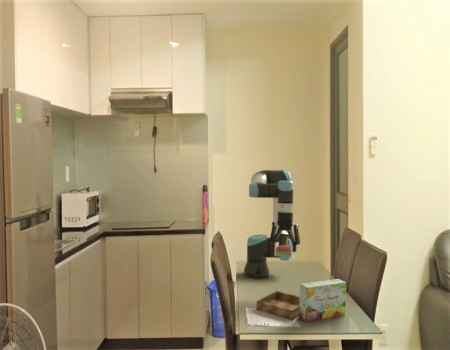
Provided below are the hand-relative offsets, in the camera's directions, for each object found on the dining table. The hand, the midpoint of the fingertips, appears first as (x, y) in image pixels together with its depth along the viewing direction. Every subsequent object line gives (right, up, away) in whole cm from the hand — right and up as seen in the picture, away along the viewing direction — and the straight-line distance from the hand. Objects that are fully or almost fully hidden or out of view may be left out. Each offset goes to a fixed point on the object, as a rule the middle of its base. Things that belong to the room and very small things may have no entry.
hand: (284, 256), depth 188 cm
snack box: (+13, -21, -24) cm, 34 cm away
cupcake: (0, -2, 0) cm, 2 cm away
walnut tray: (-3, -20, -16) cm, 26 cm away
